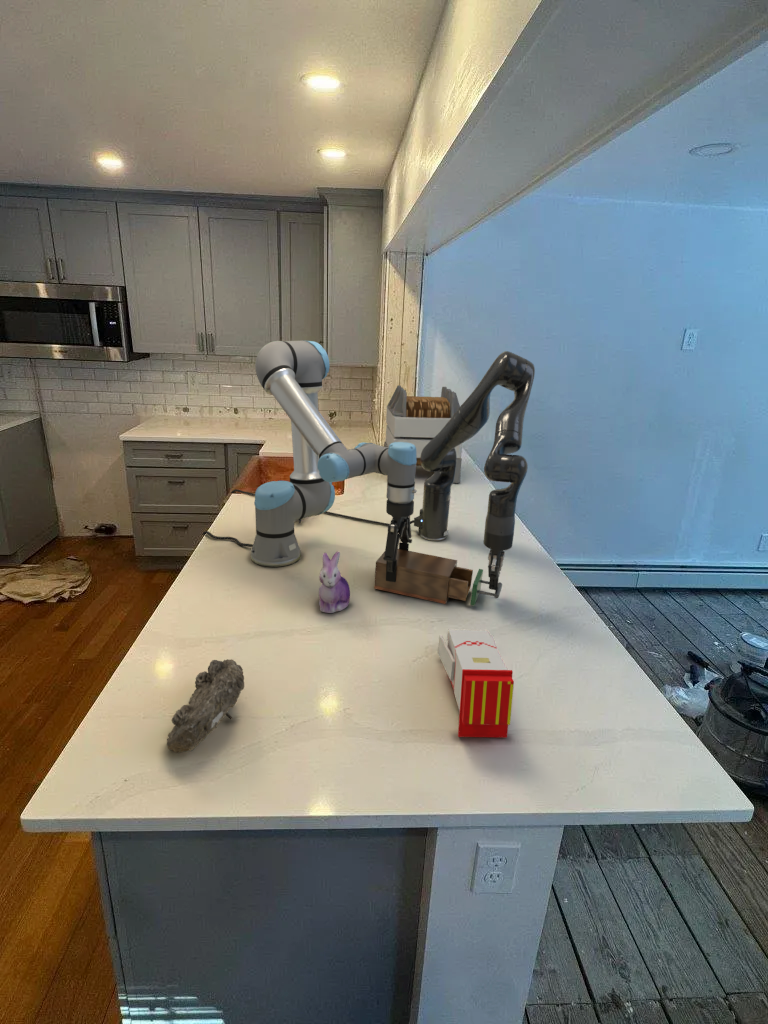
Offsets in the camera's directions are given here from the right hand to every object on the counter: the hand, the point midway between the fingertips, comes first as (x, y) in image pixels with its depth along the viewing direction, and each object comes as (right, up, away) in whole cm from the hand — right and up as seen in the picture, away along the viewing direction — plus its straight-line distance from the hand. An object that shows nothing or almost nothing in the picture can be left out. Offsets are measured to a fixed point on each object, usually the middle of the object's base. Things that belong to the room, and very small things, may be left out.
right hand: (493, 588), depth 154 cm
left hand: (-26, +4, +8) cm, 27 cm away
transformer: (-12, +40, +121) cm, 128 cm away
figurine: (-43, -4, -4) cm, 43 cm away
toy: (-12, -17, -35) cm, 41 cm away
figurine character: (-62, +18, +56) cm, 85 cm away
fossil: (-62, -18, -46) cm, 80 cm away
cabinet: (-21, -1, +7) cm, 22 cm away
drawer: (-10, -2, +4) cm, 11 cm away
